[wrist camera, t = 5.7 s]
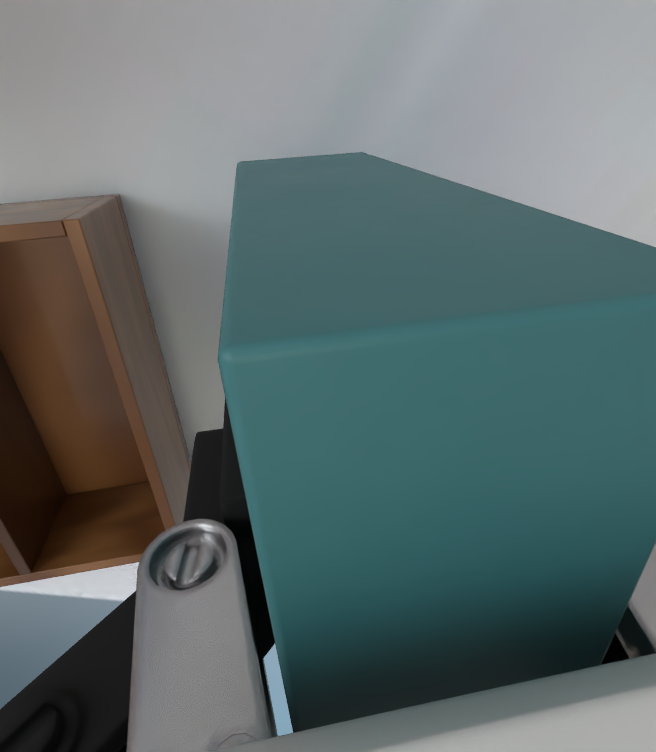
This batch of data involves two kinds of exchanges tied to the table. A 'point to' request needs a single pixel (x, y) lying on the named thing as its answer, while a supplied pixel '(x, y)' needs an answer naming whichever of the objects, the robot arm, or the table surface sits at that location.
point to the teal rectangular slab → (434, 430)
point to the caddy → (80, 395)
